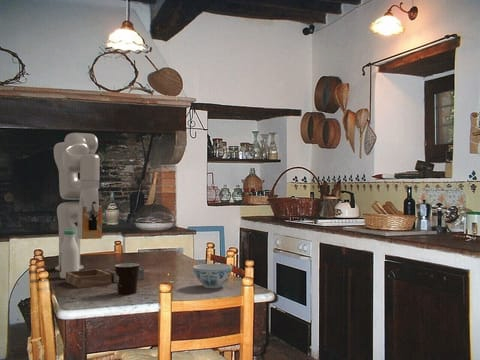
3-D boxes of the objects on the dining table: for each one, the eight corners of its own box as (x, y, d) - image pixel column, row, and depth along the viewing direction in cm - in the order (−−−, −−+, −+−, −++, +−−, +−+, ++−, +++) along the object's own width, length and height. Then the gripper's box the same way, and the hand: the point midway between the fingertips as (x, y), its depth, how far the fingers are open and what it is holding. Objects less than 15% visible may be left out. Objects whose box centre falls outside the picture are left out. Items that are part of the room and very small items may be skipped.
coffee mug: (116, 290, 183) (117, 263, 183) (140, 290, 183) (140, 263, 184) (111, 297, 171) (111, 268, 171) (136, 297, 172) (136, 268, 172)
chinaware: (207, 281, 200) (207, 262, 201) (239, 285, 193) (239, 265, 193) (185, 288, 188) (185, 267, 188) (218, 292, 180) (218, 270, 180)
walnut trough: (65, 282, 201) (65, 272, 201) (97, 278, 209) (97, 269, 209) (78, 288, 188) (78, 277, 188) (111, 284, 196) (111, 274, 196)
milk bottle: (82, 276, 214) (82, 230, 215) (71, 279, 207) (71, 231, 207) (67, 275, 217) (67, 229, 217) (55, 278, 209) (55, 230, 210)
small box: (82, 239, 194) (82, 206, 195) (77, 238, 200) (77, 205, 200) (102, 238, 199) (102, 205, 199) (97, 237, 204) (97, 205, 204)
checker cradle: (103, 278, 208) (103, 269, 208) (133, 275, 215) (133, 266, 216) (113, 282, 199) (113, 272, 199) (143, 279, 206) (143, 269, 207)
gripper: (73, 185, 204) (73, 228, 204) (87, 184, 190) (87, 231, 190) (91, 185, 209) (91, 227, 208) (106, 184, 195) (106, 230, 195)
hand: (89, 229), depth 199 cm, fingers closed on small box, 6 cm apart
